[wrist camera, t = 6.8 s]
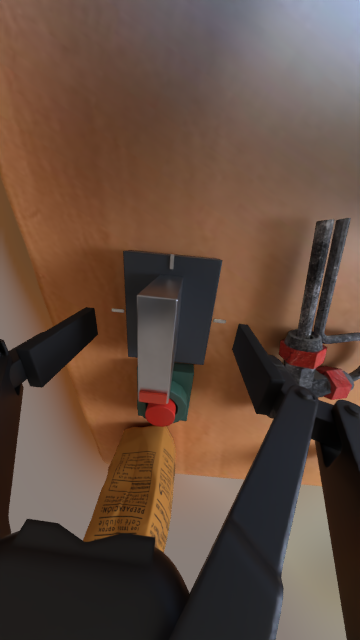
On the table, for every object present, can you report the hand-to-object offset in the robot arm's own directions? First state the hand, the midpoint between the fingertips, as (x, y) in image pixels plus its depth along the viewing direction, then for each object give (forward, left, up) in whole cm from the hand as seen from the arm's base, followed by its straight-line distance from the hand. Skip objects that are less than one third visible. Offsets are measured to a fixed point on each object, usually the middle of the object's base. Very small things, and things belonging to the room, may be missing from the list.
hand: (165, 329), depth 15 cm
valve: (+2, +19, -7) cm, 20 cm away
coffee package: (+29, -2, -7) cm, 30 cm away
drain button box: (+14, 0, -7) cm, 15 cm away
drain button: (+14, 0, -3) cm, 14 cm away
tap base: (0, 0, -7) cm, 7 cm away
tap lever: (0, 0, -4) cm, 4 cm away
